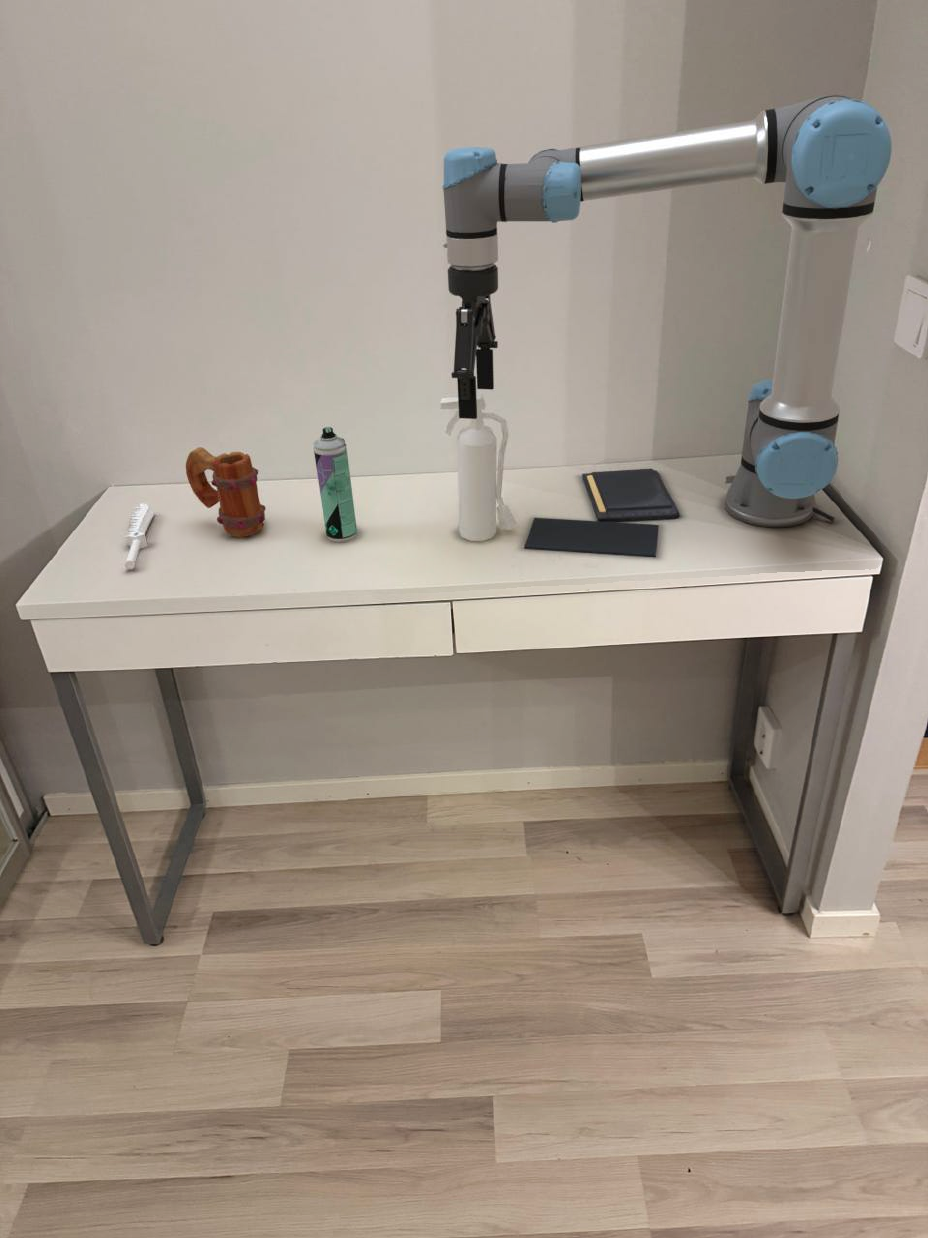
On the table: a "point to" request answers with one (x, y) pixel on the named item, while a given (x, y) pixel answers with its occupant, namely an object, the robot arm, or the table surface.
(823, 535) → the table surface
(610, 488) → the wallet
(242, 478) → the mug
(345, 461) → the spray can
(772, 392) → the robot arm
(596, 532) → the mat
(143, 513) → the toy saw sword
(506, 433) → the fire extinguisher
